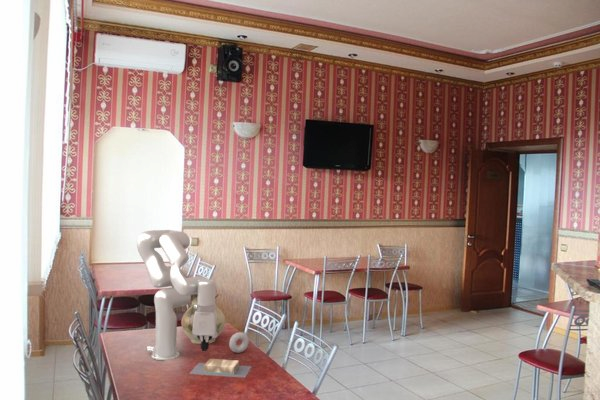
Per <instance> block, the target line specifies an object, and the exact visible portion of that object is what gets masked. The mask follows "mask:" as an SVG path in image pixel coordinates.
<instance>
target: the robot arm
mask: <svg viewBox="0 0 600 400" xmlns="http://www.w3.org/2000/svg"><path fill="white" fill-rule="evenodd" d="M190 242H191V239H190V237H189V235H188V234H187V233H186V232H184V231H178V230H172V229H160V230H159V229H158V230H157V229H156V230H146V231H144V232H141V233H140V234H138V236H137V241H136V247H137V251H138V253H139V256H140V257H141V259H142V261H143V263H144V266H145V267H146V268H145V269H146V271H147V274H148V277H149V281H150V283H151V285H152V286H153V287H154V288H156V289H157V288H159V290H158V291H157V292H156V293H155V294H154V296H153V297H154V298H153V303H154V307H155V309H154V310H155V338H154V339H155V344H154V345H153V346H152V345H147V347H146V351H147V352H152V353H151V358H152V359H153V360H156V361H166V360H167V361H169V360H173V359H177V358H179V357H180V352H179V351H177V333H178V331H177V328H178V327H177V326H178V316H177V314H176V313H175V311H174V309H175V308H181V307H185V306H187V305H188V304H190V303H191V295H193V294H198V297H197V305H194V308H196V309H197V311H195V314H194V320H193V330H192V331H193V336H194V337H198V339H199V340H200V342H201V344H200V349H201V352H207V351H208V350H209V348H210V345H209V344H210V343H209V340H210V339H212V338H216V337H217V336H218V335H217V330H218V324H217V314H216V311H215V304H216V301H215V296H216V282H215V280H214V279H209V278H206V277H204V276H199V275H198V276H192V277H185V274H184V272H183V270H182V269H181V268H182V267H183V266H185V265H186V264H187V263H188V261H189V260H190V259H189V258H190V257H189V255H188V253H187V251H186V249H188V248H189V246H190ZM160 248H161V250H162V251H163V253H164V254H165V256H166V258H167V260H168V261H169V264H170V265H168V266H167V265H166V264H165V262H164V258H163V257H162V255H161V254H160V253H159V252H158V251H157V250H155V249H160ZM161 288H162V289H161ZM204 336H206V340H205V338H204ZM217 338H218V337H217ZM217 338H216V339H217Z"/></svg>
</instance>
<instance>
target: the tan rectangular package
mask: <svg viewBox="0 0 600 400" xmlns="http://www.w3.org/2000/svg"><path fill="white" fill-rule="evenodd" d="M239 362H240V360H238V359H237V360H236V359H235V360H234V359H218V358H217V359H216V358H209V359H208V360H207V362H205V363H206V364H205V365H204V373H218V374H233V375H234V374H235V372H236V371H237V369H238V367H239V365H240V363H239Z"/></svg>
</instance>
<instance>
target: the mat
mask: <svg viewBox="0 0 600 400" xmlns="http://www.w3.org/2000/svg"><path fill="white" fill-rule="evenodd" d="M206 363H207V362H198V363H197V364H196V365H195V366H194V367H193V369H191V371H189V375H200V376H201V375H203V376H214V377H215V376H216V377H231V378H233V377H234V378H244V379H246V378H247V376H248V374H249V373H250V371H251V369H252V367H253V366H251V365H240V364H239V367H238V369H237V371H236V372H235V374H234V375H233V374H218V373H204V365H205V364H206Z"/></svg>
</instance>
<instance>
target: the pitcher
mask: <svg viewBox="0 0 600 400" xmlns="http://www.w3.org/2000/svg"><path fill="white" fill-rule="evenodd" d="M219 296H220V293H218V294H217V295H215V302H216V301H217V299H218V298H219ZM197 297H198V294H193V295H191V300H190V303H189V304H190V305H189V306H188V307H187V310H186V311H185V312H184V313H183V315H182V317H181V322H180V323H181V325H180V326H181V328H182V331H183V332H184V335H186V337H188V338H189V339H190V342H191V343H193V344H196V345H201V342H200V340H199V339H198V337H194V336H193V331H192V330H193V320H194V314H195V311H197V309H196V308H194V305H197ZM215 311H216V314H217V324H218V330H217V335H218V336H220V335H221V333H222V332H223V330H224V329H225V326H226V317H225V315H224V313H223V311H222V310H221V309H220V308H219V307H218V306H217V304H216V303H215ZM218 336H217V337H216V338H212V339H210V340H209V344H212V343H215V342H216V339H217V338H218ZM204 338H205V340H206V336H204Z"/></svg>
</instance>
